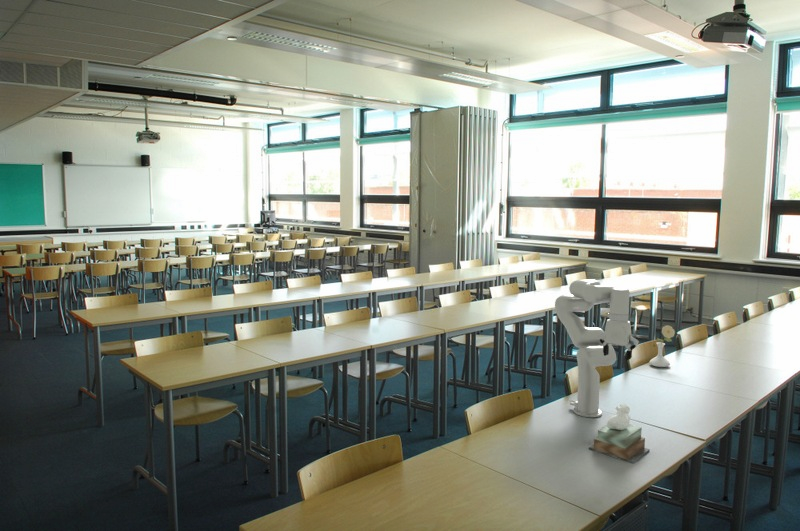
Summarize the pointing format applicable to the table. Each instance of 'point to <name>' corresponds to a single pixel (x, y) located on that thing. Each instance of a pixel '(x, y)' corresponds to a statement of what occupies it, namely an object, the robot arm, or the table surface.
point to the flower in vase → (659, 359)
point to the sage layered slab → (621, 443)
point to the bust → (620, 418)
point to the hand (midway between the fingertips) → (617, 357)
